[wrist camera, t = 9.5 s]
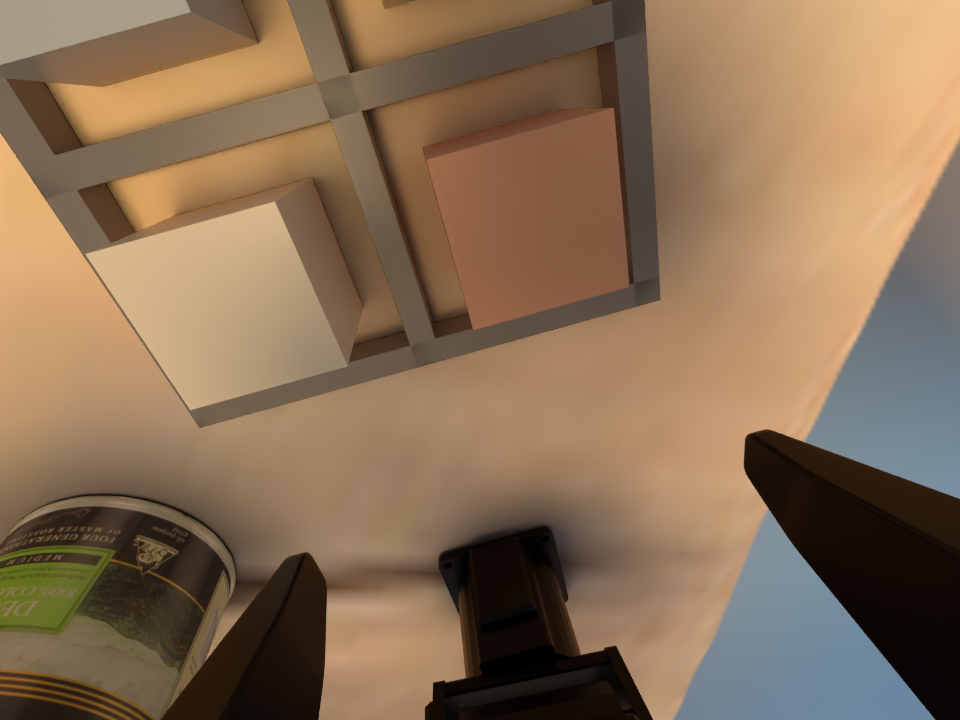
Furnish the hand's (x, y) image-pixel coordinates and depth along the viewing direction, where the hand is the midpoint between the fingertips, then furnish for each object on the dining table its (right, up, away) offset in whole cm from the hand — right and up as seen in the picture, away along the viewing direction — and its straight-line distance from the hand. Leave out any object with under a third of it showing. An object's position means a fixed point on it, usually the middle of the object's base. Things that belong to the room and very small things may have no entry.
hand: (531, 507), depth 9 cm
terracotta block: (0, +9, +8) cm, 12 cm away
